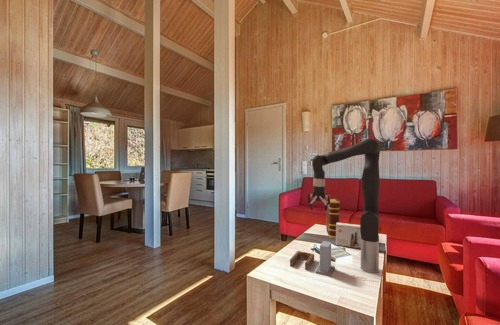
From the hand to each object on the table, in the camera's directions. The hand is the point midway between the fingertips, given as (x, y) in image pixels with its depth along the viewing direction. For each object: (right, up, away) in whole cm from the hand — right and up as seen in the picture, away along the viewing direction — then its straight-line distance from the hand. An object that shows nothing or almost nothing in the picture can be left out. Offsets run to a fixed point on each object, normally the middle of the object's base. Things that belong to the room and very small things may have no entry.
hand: (318, 210), depth 152 cm
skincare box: (+30, -31, +19) cm, 47 cm away
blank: (-2, -29, -21) cm, 36 cm away
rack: (-14, -30, -12) cm, 35 cm away
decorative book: (+26, -31, +48) cm, 63 cm away
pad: (-2, -30, -21) cm, 36 cm away
